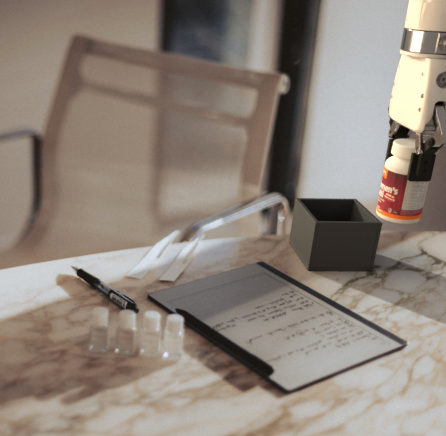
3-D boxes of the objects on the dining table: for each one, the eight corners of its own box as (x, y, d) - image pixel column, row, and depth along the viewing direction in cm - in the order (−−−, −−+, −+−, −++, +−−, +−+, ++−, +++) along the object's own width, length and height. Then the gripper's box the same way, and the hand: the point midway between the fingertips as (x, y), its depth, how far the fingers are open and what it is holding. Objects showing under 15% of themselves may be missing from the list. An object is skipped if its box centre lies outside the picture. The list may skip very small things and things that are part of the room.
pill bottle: (366, 211, 94) (379, 138, 90) (402, 207, 95) (416, 135, 91) (393, 227, 89) (408, 150, 84) (430, 223, 90) (446, 147, 86)
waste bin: (347, 243, 112) (356, 198, 109) (372, 271, 102) (382, 223, 99) (288, 242, 112) (295, 197, 108) (307, 270, 102) (315, 222, 98)
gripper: (499, 53, 75) (465, 193, 82) (427, 36, 90) (404, 155, 97) (437, 52, 74) (409, 194, 81) (376, 36, 90) (357, 155, 97)
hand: (406, 171), depth 89 cm, fingers closed on pill bottle, 6 cm apart
